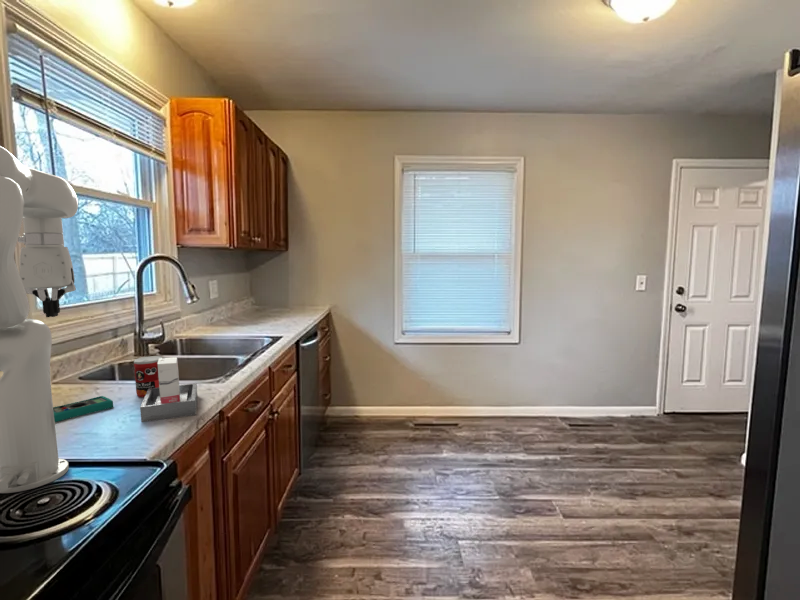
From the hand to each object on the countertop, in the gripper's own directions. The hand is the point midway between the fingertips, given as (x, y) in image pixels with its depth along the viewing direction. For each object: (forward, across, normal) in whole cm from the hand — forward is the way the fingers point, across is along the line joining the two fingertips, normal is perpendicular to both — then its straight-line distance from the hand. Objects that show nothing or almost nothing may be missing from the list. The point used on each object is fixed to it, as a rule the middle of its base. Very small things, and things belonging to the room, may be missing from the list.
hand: (52, 316), depth 116 cm
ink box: (+27, +24, +6) cm, 36 cm away
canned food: (+28, +16, +24) cm, 41 cm away
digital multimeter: (+29, 0, +12) cm, 32 cm away
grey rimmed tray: (+28, +24, +6) cm, 38 cm away
